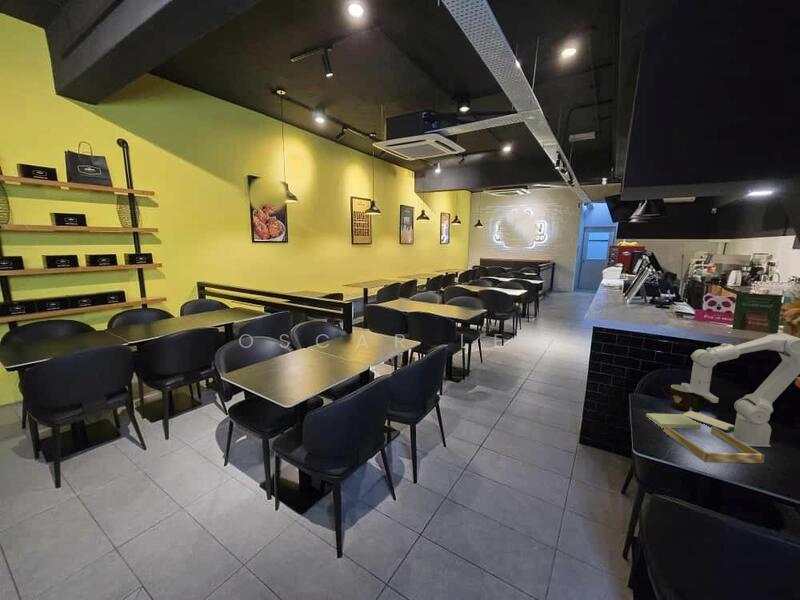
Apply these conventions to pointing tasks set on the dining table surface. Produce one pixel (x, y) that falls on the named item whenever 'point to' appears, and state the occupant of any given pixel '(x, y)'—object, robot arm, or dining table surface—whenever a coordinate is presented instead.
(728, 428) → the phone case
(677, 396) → the coffee mug
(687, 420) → the cover plate
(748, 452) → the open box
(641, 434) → the dining table surface
